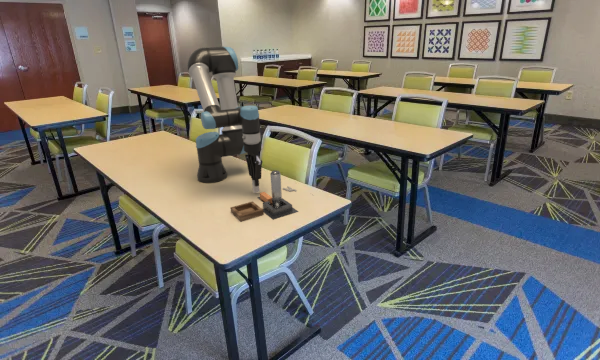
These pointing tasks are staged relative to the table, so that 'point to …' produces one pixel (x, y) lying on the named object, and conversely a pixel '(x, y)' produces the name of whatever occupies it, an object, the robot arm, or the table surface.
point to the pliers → (291, 189)
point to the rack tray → (247, 211)
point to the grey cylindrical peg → (276, 189)
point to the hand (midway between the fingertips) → (256, 191)
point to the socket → (277, 209)
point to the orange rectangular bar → (266, 197)
